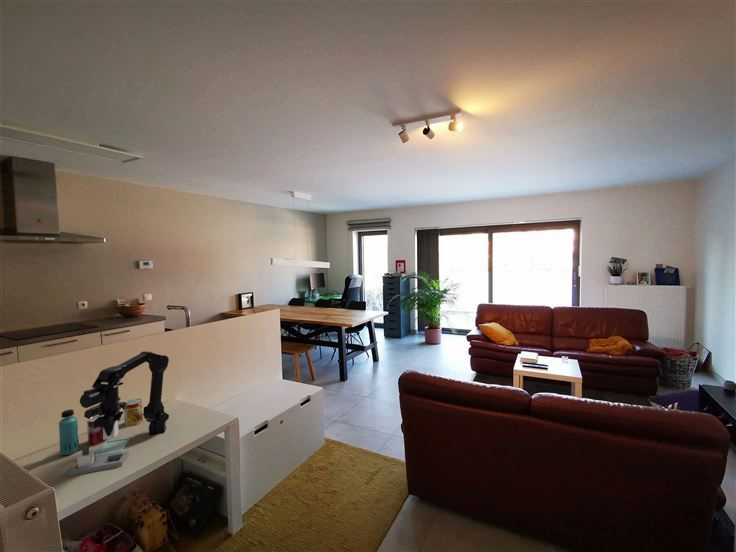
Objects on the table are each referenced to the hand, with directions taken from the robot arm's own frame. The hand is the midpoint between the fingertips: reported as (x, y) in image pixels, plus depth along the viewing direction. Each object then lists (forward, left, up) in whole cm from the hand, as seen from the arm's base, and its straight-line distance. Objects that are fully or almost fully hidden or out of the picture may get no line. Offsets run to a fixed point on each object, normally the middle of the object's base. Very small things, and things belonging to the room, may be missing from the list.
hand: (111, 433), depth 140 cm
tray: (+3, -11, -12) cm, 17 cm away
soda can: (+12, -20, -13) cm, 27 cm away
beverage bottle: (+20, -13, -13) cm, 27 cm away
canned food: (+2, -36, -13) cm, 38 cm away
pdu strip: (+3, +3, -12) cm, 13 cm away
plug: (0, 0, -1) cm, 1 cm away
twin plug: (+8, +3, -12) cm, 15 cm away
